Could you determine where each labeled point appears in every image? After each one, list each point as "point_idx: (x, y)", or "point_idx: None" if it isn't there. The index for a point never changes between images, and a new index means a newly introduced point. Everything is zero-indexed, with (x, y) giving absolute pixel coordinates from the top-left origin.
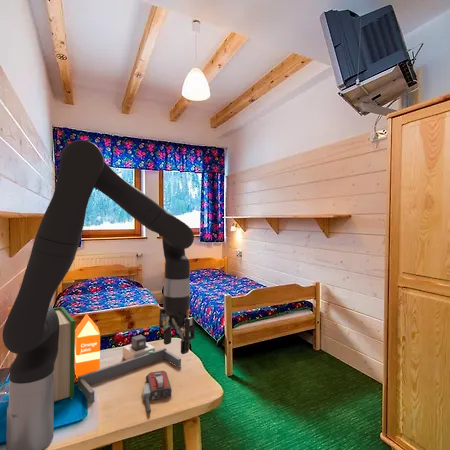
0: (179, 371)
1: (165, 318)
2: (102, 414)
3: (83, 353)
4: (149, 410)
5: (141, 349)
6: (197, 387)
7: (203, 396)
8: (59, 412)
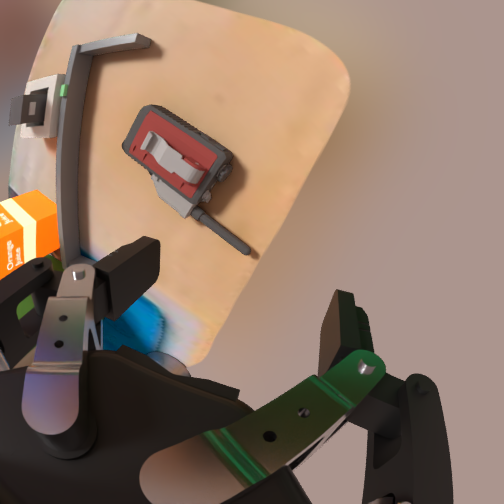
0: (164, 55)
1: (13, 327)
2: (172, 294)
3: (23, 257)
4: (247, 253)
5: (44, 106)
6: (267, 74)
7: (315, 99)
8: (124, 319)
